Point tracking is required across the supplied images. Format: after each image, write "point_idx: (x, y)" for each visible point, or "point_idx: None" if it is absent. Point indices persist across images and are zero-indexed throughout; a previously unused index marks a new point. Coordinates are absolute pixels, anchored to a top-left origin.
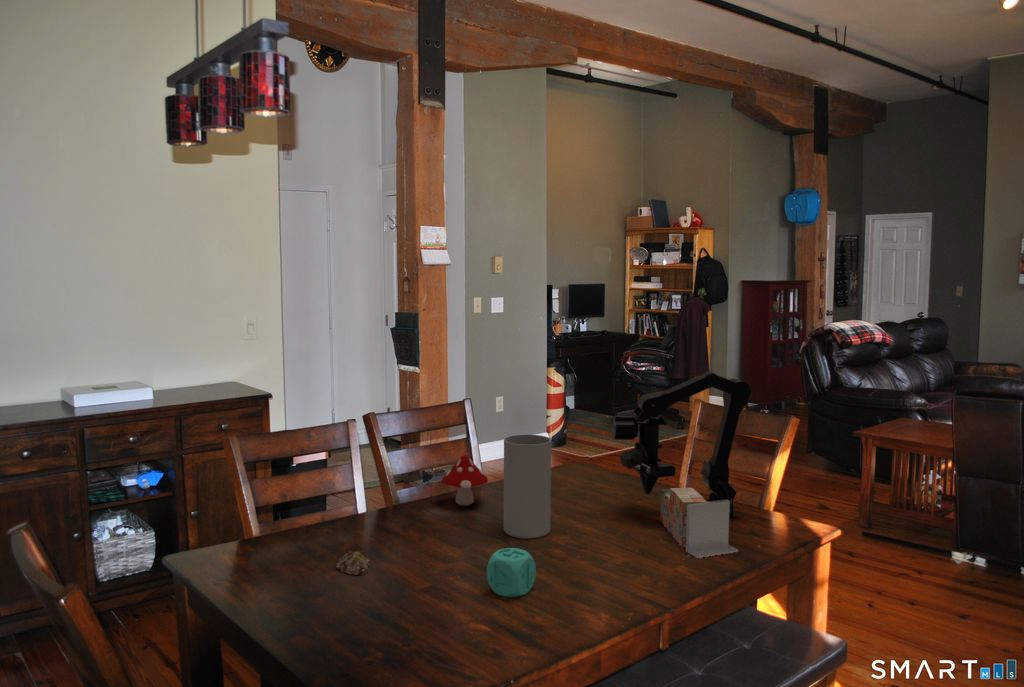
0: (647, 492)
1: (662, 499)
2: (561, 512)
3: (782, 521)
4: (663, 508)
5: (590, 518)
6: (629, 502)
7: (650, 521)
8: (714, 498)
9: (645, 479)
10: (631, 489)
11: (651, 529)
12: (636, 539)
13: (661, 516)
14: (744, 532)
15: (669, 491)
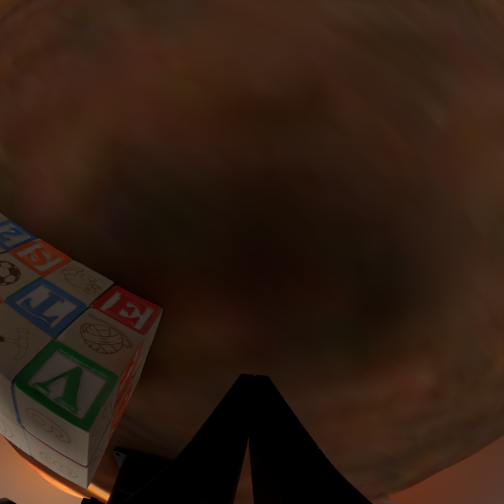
0: (236, 387)
1: (73, 365)
2: (473, 9)
3: (91, 489)
4: (68, 318)
5: (375, 19)
6: (446, 342)
7: (178, 260)
8: (119, 501)
9: (206, 486)
10: (491, 403)
11: (82, 185)
12: (37, 61)
13: (144, 317)
14: None
15: (36, 426)
